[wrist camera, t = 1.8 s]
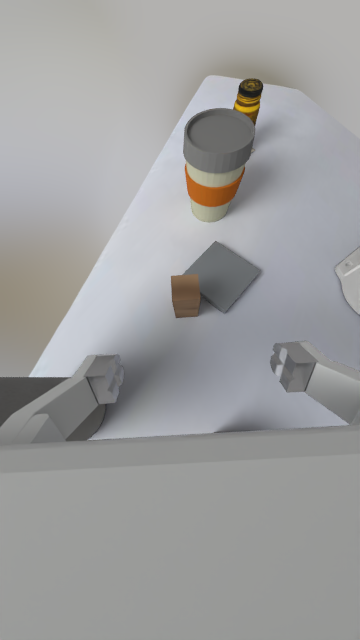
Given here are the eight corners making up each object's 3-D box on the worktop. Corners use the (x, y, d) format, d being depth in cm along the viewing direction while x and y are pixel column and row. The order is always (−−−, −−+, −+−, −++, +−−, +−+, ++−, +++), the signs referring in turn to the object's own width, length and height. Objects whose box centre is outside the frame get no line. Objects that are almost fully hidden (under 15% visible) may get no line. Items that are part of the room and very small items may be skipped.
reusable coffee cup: (242, 200, 45) (268, 118, 30) (220, 235, 42) (237, 164, 27) (199, 183, 47) (204, 100, 32) (175, 216, 44) (169, 141, 30)
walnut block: (174, 298, 38) (170, 276, 29) (195, 296, 38) (197, 273, 29) (176, 317, 36) (172, 301, 28) (197, 316, 36) (200, 298, 28)
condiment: (234, 162, 49) (248, 97, 37) (216, 145, 51) (224, 79, 39) (255, 151, 49) (275, 84, 38) (236, 135, 52) (250, 68, 40)
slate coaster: (214, 245, 41) (215, 240, 40) (257, 274, 38) (260, 270, 37) (180, 280, 39) (180, 276, 37) (224, 313, 36) (225, 311, 35)
